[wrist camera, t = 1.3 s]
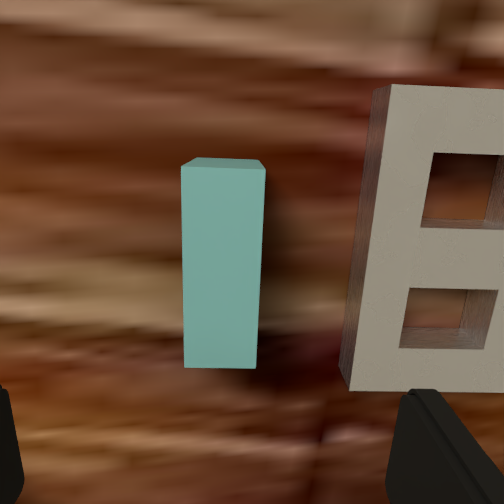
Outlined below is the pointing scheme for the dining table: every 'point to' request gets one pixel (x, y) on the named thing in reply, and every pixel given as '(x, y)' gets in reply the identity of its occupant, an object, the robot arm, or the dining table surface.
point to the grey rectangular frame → (425, 247)
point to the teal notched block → (221, 260)
